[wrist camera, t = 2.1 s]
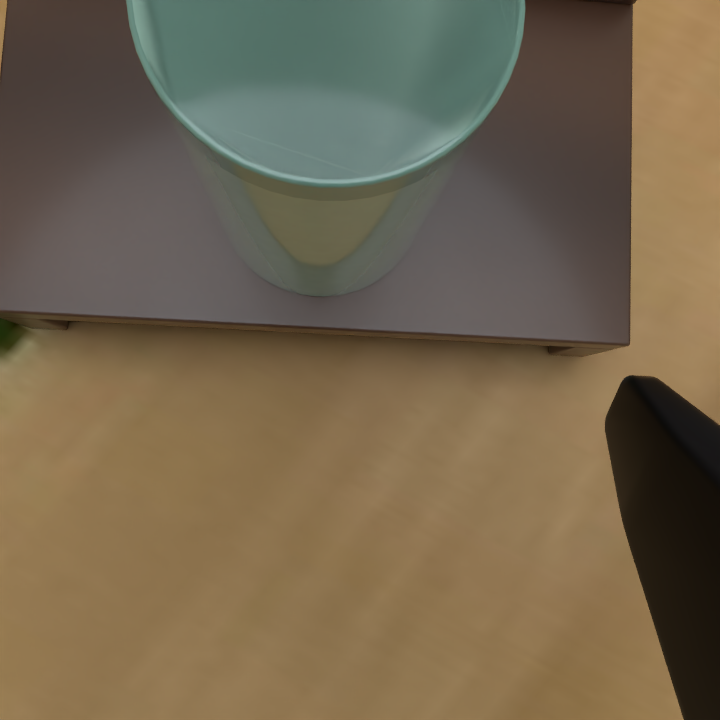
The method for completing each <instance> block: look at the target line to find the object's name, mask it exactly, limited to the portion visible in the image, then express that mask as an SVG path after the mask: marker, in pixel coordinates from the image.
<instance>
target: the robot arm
mask: <svg viewBox="0 0 720 720" xmlns="http://www.w3.org/2000/svg"><path fill="white" fill-rule="evenodd" d="M605 433H606V438H607V444H608V449H609V454H610V460H611V465H612V470H613V476H614V481H615V486H616V492H617V497H618V502H619V508H620V512H621V517H622V521H623V525H624V529H625V532H626V536H627V539H628V543H629V546H630V549H631V552H632V555H633V559H634V562H635V565H636V568H637V571H638V575H639V578H640V581H641V584H642V587H643V591H644V594H645V597H646V600H647V603H648V607H649V610H650V613H651V616H652V619H653V623H654V626H655V629H656V632H657V635H658V639H659V642H660V645H661V648H662V651H663V655H664V658H665V661H666V664H667V667H668V671H669V674H670V677H671V680H672V683H673V687H674V690H675V693H676V696H677V699H678V703H679V706H680V709H681V712H682V715H683V719H684V720H720V425H718V424H717V423H716V422H714V421H713V420H712V419H710V418H709V417H708V416H706V415H705V414H704V413H703V412H701V411H700V410H699V409H697V408H696V407H695V406H693V405H692V404H691V403H689V402H688V401H687V400H685V399H684V398H683V397H682V396H680V395H679V394H678V393H676V392H675V391H674V390H672V389H671V388H670V387H668V386H667V385H666V384H664V383H663V382H662V381H661V380H659V379H658V378H655V377H651V376H634V375H631V376H627V377H626V378H624V379H623V381H622V382H621V384H620V386H619V388H618V391H617V393H616V395H615V397H614V400H613V402H612V404H611V406H610V408H609V411H608V413H607V416H606V420H605Z"/></svg>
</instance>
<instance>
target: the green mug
mask: <svg viewBox="0 0 720 720" xmlns="http://www.w3.org/2000/svg"><path fill="white" fill-rule="evenodd" d="M126 7H127V15H128V22H129V29H130V32H131V36H132V39H133V43H134V47H135V50H136V53H137V55H138V58H139V60H140V62H141V65H142V67H143V69H144V72H145V74H146V76H147V78H148V80H149V83H150V85H151V87H152V89H153V91H154V93H155V95H156V97H157V98H158V100H159V102H160V103H161V105H162V107H163V108H164V110H165V112H166V113H167V115H168V116H169V118H170V119H171V121H172V123H173V125H174V127H175V130H176V132H177V134H178V136H179V138H180V140H181V142H182V144H183V146H184V149H185V151H186V153H187V155H188V157H189V159H190V161H191V163H192V166H193V168H194V170H195V172H196V174H197V176H198V178H199V180H200V182H201V185H202V187H203V189H204V191H205V193H206V195H207V197H208V199H209V202H210V204H211V206H212V208H213V210H214V212H215V214H216V216H217V218H218V221H219V223H220V225H221V227H222V229H223V231H224V233H225V235H226V238H227V240H228V241H229V243H230V245H231V246H232V248H233V250H234V251H235V252H236V254H237V255H238V256H239V257H240V259H241V260H242V261H243V262H244V263H245V264H246V265H247V266H248V267H249V268H250V269H251V270H252V271H253V272H254V273H256V274H257V275H259V276H260V277H261V278H263V279H264V280H266V281H267V282H269V283H271V284H273V285H275V286H277V287H279V288H282V289H284V290H287V291H289V292H293V293H297V294H301V295H308V296H336V295H343V294H347V293H351V292H354V291H358V290H360V289H362V288H365V287H367V286H369V285H371V284H373V283H374V282H376V281H378V280H380V279H381V278H382V277H384V276H385V275H386V274H388V273H389V272H390V271H391V270H392V269H393V268H394V267H395V266H396V265H397V264H398V263H399V262H400V261H401V260H402V258H403V257H404V256H405V254H406V253H407V252H408V250H409V249H410V247H411V245H412V243H413V242H414V240H415V238H416V237H417V235H418V233H419V231H420V230H421V228H422V226H423V224H424V223H425V221H426V219H427V217H428V216H429V214H430V212H431V211H432V209H433V207H434V205H435V204H436V202H437V200H438V198H439V197H440V195H441V193H442V191H443V190H444V188H445V186H446V185H447V183H448V181H449V179H450V178H451V176H452V174H453V172H454V171H455V169H456V167H457V165H458V164H459V162H460V160H461V159H462V157H463V155H464V153H465V152H466V150H467V148H468V146H469V145H470V143H471V141H472V140H473V139H474V137H475V136H476V135H477V133H478V132H479V131H480V129H481V128H482V127H483V125H484V124H485V123H486V121H487V120H488V118H489V116H490V115H491V113H492V111H493V110H494V108H495V106H496V105H497V103H498V101H499V99H500V97H501V96H502V94H503V92H504V90H505V88H506V87H507V85H508V83H509V81H510V78H511V76H512V73H513V70H514V68H515V65H516V63H517V60H518V56H519V52H520V48H521V43H522V39H523V34H524V23H525V12H526V10H525V0H126Z"/></svg>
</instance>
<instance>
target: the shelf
mask: <svg viewBox="0 0 720 720" xmlns="http://www.w3.org/2000/svg"><path fill="white" fill-rule="evenodd" d="M636 1H637V0H525V10H526V12H525V23H524V34H523V39H522V43H521V48H520V52H519V56H518V60H517V63H516V65H515V68H514V70H513V73H512V76H511V78H510V81H509V83H508V85H507V87H506V88H505V90H504V92H503V94H502V96H501V97H500V99H499V101H498V103H497V105H496V106H495V108H494V110H493V111H492V113H491V115H490V116H489V118H488V120H487V121H486V123H485V124H484V125H483V127H482V128H481V129H480V131H479V132H478V133H477V135H476V136H475V137H474V139H473V140H472V141H471V143H470V145H469V146H468V148H467V150H466V152H465V153H464V155H463V157H462V159H461V160H460V162H459V164H458V165H457V167H456V169H455V171H454V172H453V174H452V176H451V178H450V179H449V181H448V183H447V185H446V186H445V188H444V190H443V191H442V193H441V195H440V197H439V198H438V200H437V202H436V204H435V205H434V207H433V209H432V211H431V212H430V214H429V216H428V217H427V219H426V221H425V223H424V224H423V226H422V228H421V230H420V231H419V233H418V235H417V237H416V238H415V240H414V242H413V243H412V245H411V247H410V249H409V250H408V252H407V253H406V254H405V256H404V257H403V258H402V260H401V261H400V262H399V263H398V264H397V265H396V266H395V267H394V268H393V269H392V270H391V271H390V272H389V273H388V274H386V275H385V276H384V277H382V278H381V279H380V280H378V281H376V282H374V283H373V284H371V285H369V286H367V287H365V288H362V289H360V290H358V291H354V292H351V293H347V294H343V295H336V296H308V295H301V294H297V293H293V292H289V291H287V290H284V289H282V288H279V287H277V286H275V285H273V284H271V283H269V282H267V281H266V280H264V279H263V278H261V277H260V276H259V275H257V274H256V273H254V272H253V271H252V270H251V269H250V268H249V267H248V266H247V265H246V264H245V263H244V262H243V261H242V260H241V259H240V257H239V256H238V255H237V254H236V252H235V251H234V250H233V248H232V246H231V245H230V243H229V241H228V240H227V238H226V235H225V233H224V231H223V229H222V227H221V225H220V223H219V221H218V218H217V216H216V214H215V212H214V210H213V208H212V206H211V204H210V202H209V199H208V197H207V195H206V193H205V191H204V189H203V187H202V185H201V182H200V180H199V178H198V176H197V174H196V172H195V170H194V168H193V166H192V163H191V161H190V159H189V157H188V155H187V153H186V151H185V149H184V146H183V144H182V142H181V140H180V138H179V136H178V134H177V132H176V130H175V127H174V125H173V123H172V121H171V119H170V118H169V116H168V115H167V113H166V112H165V110H164V108H163V107H162V105H161V103H160V102H159V100H158V98H157V97H156V95H155V93H154V91H153V89H152V87H151V85H150V83H149V80H148V78H147V76H146V74H145V72H144V69H143V67H142V65H141V62H140V60H139V58H138V55H137V53H136V50H135V47H134V43H133V39H132V36H131V32H130V29H129V22H128V15H127V7H126V0H7V10H6V20H5V31H4V41H3V52H2V62H1V72H0V318H1V319H5V320H8V321H11V322H14V323H17V324H20V325H23V326H26V327H29V328H39V329H58V330H65V329H67V327H68V320H69V321H88V322H107V323H126V324H145V325H164V326H183V327H202V328H221V329H240V330H259V331H279V332H298V333H317V334H336V335H355V336H374V337H393V338H412V339H431V340H450V341H469V342H488V343H507V344H526V345H545V346H549V354H550V355H561V356H580V357H582V356H587V355H591V354H596V353H600V352H604V351H609V350H613V349H617V348H621V347H625V346H629V344H630V280H631V148H632V17H633V4H634V3H635V2H636Z"/></svg>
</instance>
